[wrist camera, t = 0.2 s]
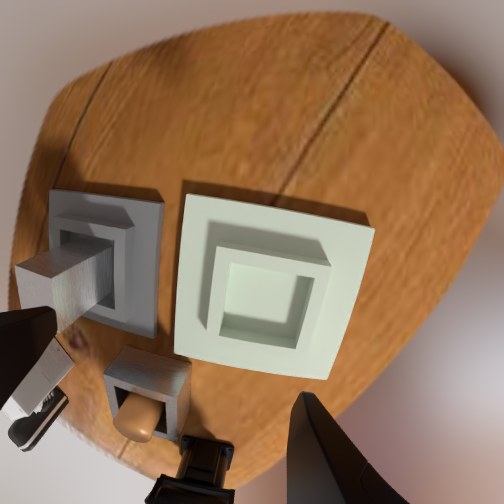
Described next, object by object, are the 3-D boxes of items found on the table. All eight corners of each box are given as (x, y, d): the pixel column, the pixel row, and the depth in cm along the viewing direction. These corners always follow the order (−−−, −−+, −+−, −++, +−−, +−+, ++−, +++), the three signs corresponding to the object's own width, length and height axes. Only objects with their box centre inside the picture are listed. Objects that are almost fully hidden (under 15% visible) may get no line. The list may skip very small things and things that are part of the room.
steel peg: (113, 289, 23) (59, 333, 15) (79, 279, 23) (23, 316, 15) (113, 246, 22) (51, 278, 14) (77, 238, 22) (14, 265, 14)
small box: (48, 327, 26) (-7, 372, 16) (76, 364, 27) (29, 417, 17) (28, 346, 28) (-18, 385, 18) (52, 378, 29) (11, 422, 19)
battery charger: (53, 380, 29) (9, 428, 18) (71, 400, 30) (31, 451, 19) (40, 391, 31) (2, 434, 20) (56, 409, 31) (21, 453, 20)
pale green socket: (325, 373, 24) (328, 390, 22) (177, 347, 25) (168, 362, 22) (370, 226, 20) (382, 233, 18) (190, 193, 21) (179, 195, 19)
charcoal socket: (157, 333, 25) (147, 348, 22) (60, 302, 25) (46, 312, 23) (164, 202, 21) (151, 206, 19) (56, 189, 22) (39, 191, 19)
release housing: (189, 409, 27) (177, 442, 22) (131, 392, 27) (113, 421, 22) (191, 363, 25) (176, 398, 20) (126, 345, 25) (102, 373, 21)
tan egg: (167, 411, 24) (152, 447, 19) (135, 401, 24) (116, 434, 20) (166, 387, 23) (148, 425, 18) (132, 376, 23) (109, 411, 19)
